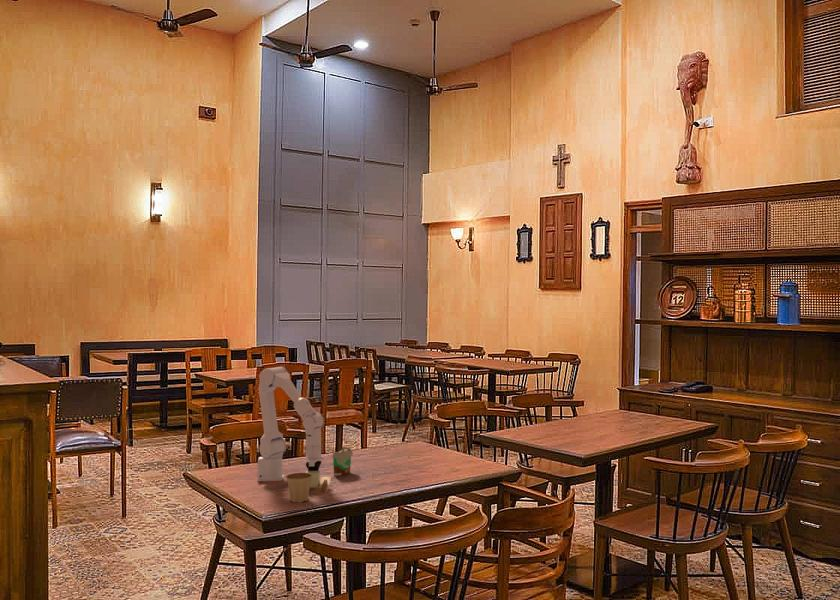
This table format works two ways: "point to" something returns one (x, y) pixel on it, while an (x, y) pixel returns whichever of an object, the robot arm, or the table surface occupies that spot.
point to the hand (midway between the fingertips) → (313, 481)
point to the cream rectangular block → (314, 479)
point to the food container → (342, 461)
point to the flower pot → (299, 486)
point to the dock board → (321, 485)
